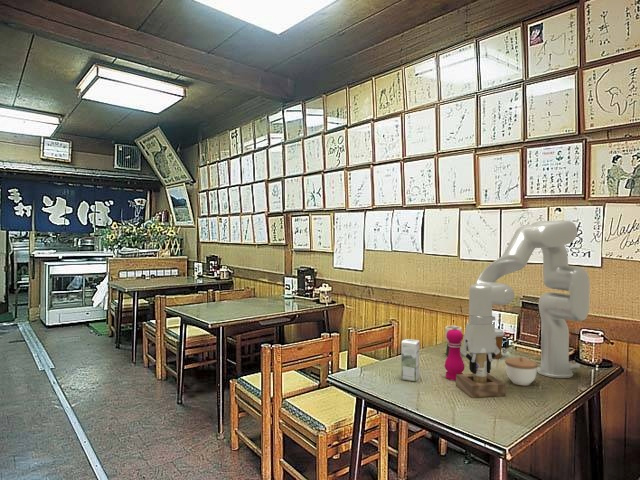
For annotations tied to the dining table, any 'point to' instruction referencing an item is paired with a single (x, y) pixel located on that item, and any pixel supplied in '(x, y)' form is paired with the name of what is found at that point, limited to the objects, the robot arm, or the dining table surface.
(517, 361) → the lidded jar
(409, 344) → the syrup box
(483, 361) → the sprinkles bottle
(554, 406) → the dining table surface
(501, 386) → the socket block
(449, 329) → the character mug
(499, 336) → the disposable coffee cup
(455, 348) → the pepper mill
